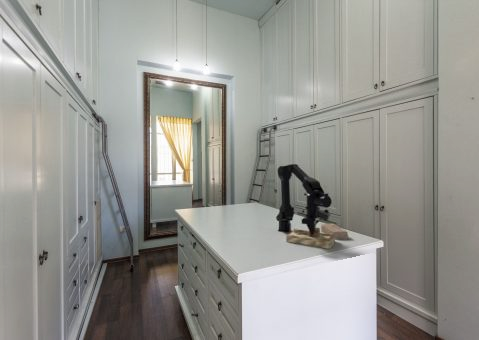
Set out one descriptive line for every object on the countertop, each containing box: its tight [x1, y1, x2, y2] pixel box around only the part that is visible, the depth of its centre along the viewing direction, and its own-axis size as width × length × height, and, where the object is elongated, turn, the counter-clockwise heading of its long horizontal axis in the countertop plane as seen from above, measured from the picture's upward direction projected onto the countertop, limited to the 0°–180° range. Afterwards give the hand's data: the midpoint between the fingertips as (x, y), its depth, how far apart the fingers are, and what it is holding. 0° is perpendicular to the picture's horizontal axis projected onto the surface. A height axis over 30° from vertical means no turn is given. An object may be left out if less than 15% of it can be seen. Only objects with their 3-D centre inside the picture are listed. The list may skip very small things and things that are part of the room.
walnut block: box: [308, 226, 321, 238], centre depth 124 cm, size 4×4×4 cm
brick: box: [320, 223, 349, 240], centre depth 134 cm, size 16×8×5 cm, turn 6°
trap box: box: [285, 228, 336, 250], centre depth 123 cm, size 22×13×4 cm, turn 59°
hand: (312, 234), depth 121 cm, fingers closed
